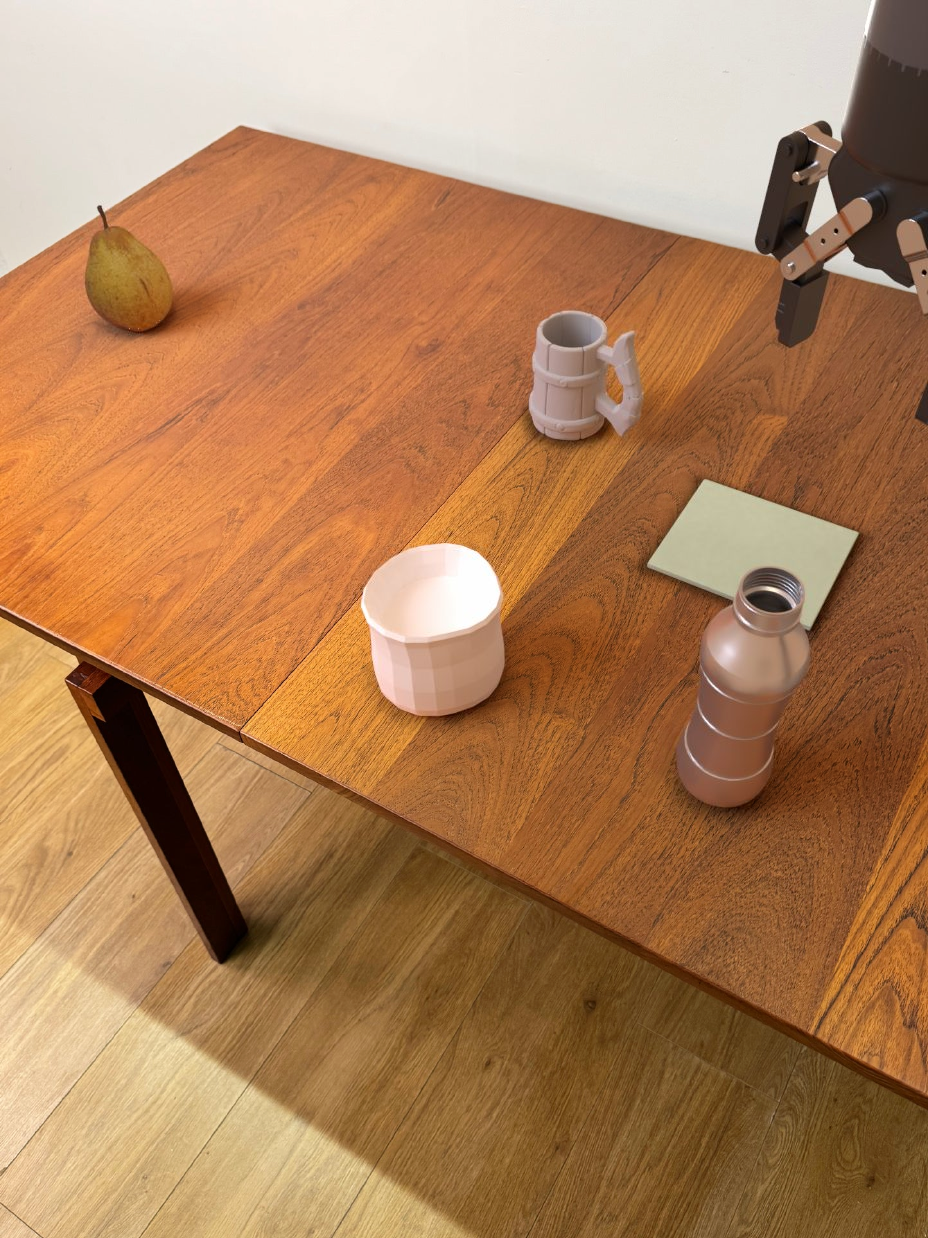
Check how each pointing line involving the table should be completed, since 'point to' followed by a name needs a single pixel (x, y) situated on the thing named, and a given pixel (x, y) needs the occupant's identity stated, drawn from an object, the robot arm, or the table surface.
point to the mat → (751, 545)
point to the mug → (582, 378)
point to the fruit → (126, 280)
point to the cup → (435, 629)
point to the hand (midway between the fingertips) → (860, 376)
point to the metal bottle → (744, 688)
